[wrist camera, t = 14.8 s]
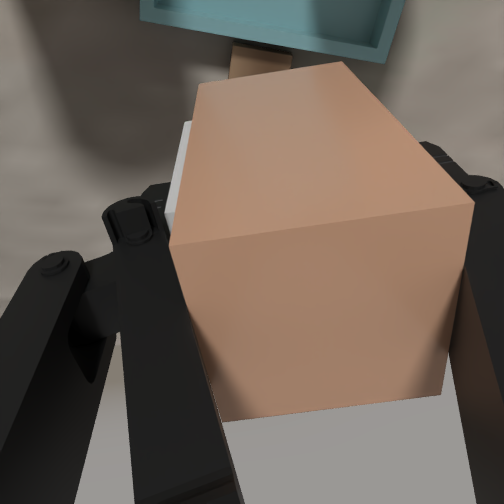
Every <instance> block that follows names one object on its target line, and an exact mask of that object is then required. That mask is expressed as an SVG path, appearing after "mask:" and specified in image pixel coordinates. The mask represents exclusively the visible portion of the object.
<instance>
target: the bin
mask: <svg viewBox="0 0 504 504" xmlns="http://www.w3.org/2000/svg"><path fill="white" fill-rule="evenodd" d="M404 3H405V0H140V21H146V22H151V23H157V24H163V25H168V26H174V27H179V28H185V29H191V30H196V31H202V32H207V33H213V34H219V35H224V36H230V37H235V38H241V39H247V40H252V41H258V42H263V43H269V44H275V45H280V46H286V47H291V48H297V49H303V50H308V51H314V52H319V53H325V54H331V55H336V56H342V57H347V58H353V59H359V60H364V61H370V62H375V63H381V64H385V62H386V59H387V56H388V53H389V49H390V46H391V43H392V40H393V37H394V34H395V31H396V28H397V25H398V22H399V18H400V15H401V12H402V9H403V6H404Z"/></svg>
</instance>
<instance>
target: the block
mask: <svg viewBox="0 0 504 504" xmlns="http://www.w3.org/2000/svg"><path fill="white" fill-rule="evenodd" d="M474 204H475V202H474V201H473V200H472V199H471V198H470V197H469V196H468V195H467V193H466V192H465V191H464V190H463V189H462V188H461V187H460V186H459V185H458V184H457V183H456V182H455V181H454V180H453V179H452V178H451V177H450V175H449V174H448V173H447V172H446V171H445V170H444V169H443V168H442V167H441V166H440V165H439V164H438V163H437V162H436V161H435V160H434V159H433V157H432V156H431V155H430V154H429V153H428V152H427V151H426V150H425V149H424V148H423V147H422V146H421V145H420V144H419V143H418V142H417V140H416V139H415V138H414V137H413V136H412V135H411V134H410V133H409V132H408V131H407V130H406V129H405V128H404V127H403V126H402V125H401V124H400V122H399V121H398V120H397V119H396V118H395V117H394V116H393V115H392V114H391V113H390V112H389V111H388V110H387V109H386V108H385V107H384V105H383V104H382V103H381V102H380V101H379V100H378V99H377V98H376V97H375V96H374V95H373V94H372V93H371V92H370V91H369V90H368V89H367V87H366V86H365V85H364V84H363V83H362V82H361V81H360V80H359V79H358V78H357V77H356V76H355V75H354V74H353V73H352V72H351V71H350V69H349V68H348V67H347V66H346V65H345V64H344V63H343V62H342V61H340V62H334V63H327V64H321V65H315V66H308V67H302V68H296V69H289V70H283V71H277V72H270V73H264V74H258V75H251V76H245V77H239V78H232V79H226V80H220V81H214V82H207V83H201V84H199V86H198V91H197V97H196V102H195V107H194V113H193V118H192V123H191V129H190V134H189V140H188V145H187V150H186V156H185V161H184V166H183V172H182V177H181V183H180V188H179V193H178V199H177V204H176V209H175V215H174V220H173V226H172V231H171V236H170V242H169V249H170V252H171V256H172V259H173V262H174V265H175V269H176V272H177V275H178V279H179V282H180V285H181V288H182V292H183V295H184V298H185V302H186V305H187V308H188V311H189V315H190V318H191V321H192V325H193V328H194V331H195V334H196V338H197V341H198V344H199V348H200V351H201V354H202V357H203V361H204V364H205V367H206V371H207V374H208V377H209V381H210V384H211V387H212V390H213V394H214V397H215V400H216V404H217V407H218V410H219V413H220V417H221V420H222V422H230V421H238V420H245V419H254V418H260V417H269V416H277V415H285V414H293V413H301V412H309V411H317V410H325V409H333V408H341V407H349V406H357V405H365V404H373V403H381V402H388V401H396V400H404V399H412V398H420V397H427V396H436V395H441V391H442V385H443V380H444V374H445V368H446V363H447V357H448V352H449V346H450V340H451V335H452V329H453V323H454V318H455V312H456V306H457V301H458V295H459V289H460V284H461V278H462V272H463V267H464V261H465V255H466V250H467V244H468V238H469V233H470V227H471V221H472V216H473V210H474Z"/></svg>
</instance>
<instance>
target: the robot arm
mask: <svg viewBox="0 0 504 504" xmlns="http://www.w3.org/2000/svg"><path fill="white" fill-rule="evenodd" d="M191 123H192V121H186V122H185V123H184V127H183V132H182V136H181V141H180V145H179V150H178V154H177V159H176V163H175V168H174V172H173V177H172V181H171V182H168V183H161V184H155V185H150V186H149V187H148V188H147V189H146V190H145V191H144V192H143V193H142V195H141V196H136V197H130V198H126V199H123V200H120V201H117V202H116V203H114V204H112V205H110V206H109V207H108V208H107V209H106V210H105V211H104V212H103V214H102V220H103V222H104V225H105V227H106V230H107V232H108V235H109V237H110V240H111V242H112V245H113V252H111V253H109V254H107V255H104V256H102V257H99V258H96V259H93V260H90V261H87V262H85V263H84V261H83V258H82V256H81V255H80V254H79V253H78V252H75V251H60V252H56V253H51V254H49V255H48V256H47V255H46V256H44V257H43V258H41V259H40V260H39V261H37V262H36V263H35V264H33V265H32V267H31V268H30V269H29V270H28V271H27V273H26V275H25V277H24V278H23V280H22V282H21V284H20V285H19V287H18V289H17V291H16V292H15V294H14V296H13V298H12V299H11V301H10V303H9V304H8V306H7V308H6V310H5V311H4V313H3V315H2V317H1V318H0V504H74V502H75V497H76V494H77V490H78V486H79V482H80V478H81V474H82V470H83V466H84V463H85V459H86V454H87V451H88V447H89V443H90V439H91V435H92V431H93V427H94V424H95V419H96V416H97V412H98V408H99V404H100V400H101V396H102V392H103V389H104V385H105V380H106V377H107V373H108V369H109V365H110V361H111V357H112V353H113V349H114V346H115V342H116V333H118V332H120V336H121V348H122V360H123V371H124V383H125V395H126V407H127V419H128V431H129V442H130V454H131V466H132V477H133V489H134V501H135V504H245V503H244V499H243V495H242V492H241V489H240V485H239V482H238V479H237V475H236V471H235V468H234V464H233V461H232V457H231V454H230V451H229V447H228V444H227V440H226V437H225V433H224V430H223V426H222V423H221V419H220V416H219V412H218V409H217V405H216V402H215V398H214V395H213V391H212V388H211V385H210V381H209V378H208V374H207V371H206V367H205V364H204V361H203V357H202V354H201V351H200V348H199V344H198V341H197V338H196V334H195V331H194V328H193V325H192V321H191V318H190V315H189V311H188V308H187V305H186V302H185V298H184V295H183V292H182V288H181V285H180V282H179V279H178V275H177V272H176V269H175V265H174V262H173V259H172V256H171V252H170V249H169V242H170V236H171V231H172V226H173V220H174V215H175V209H176V204H177V199H178V193H179V188H180V183H181V177H182V172H183V166H184V161H185V156H186V150H187V145H188V140H189V134H190V129H191ZM418 143H419V144H420V145H421V146H422V147H423V148H424V149H425V150H426V151H427V152H428V153H429V154H430V155H431V156H432V157H433V159H434V160H435V161H436V162H437V163H438V164H439V165H440V166H441V167H442V168H443V169H444V170H445V171H446V172H447V173H448V174H449V175H450V177H451V178H452V179H453V180H454V181H455V182H456V183H457V184H458V185H459V186H460V187H461V188H462V189H463V190H464V191H465V192H466V193H467V195H468V196H469V197H470V198H471V199H472V200H473V201H474V202H475V204H474V210H473V216H472V221H471V227H470V233H469V238H468V244H467V250H466V255H465V261H464V267H463V272H462V278H461V284H460V289H459V295H458V301H457V306H456V312H455V318H454V323H453V329H452V335H451V340H450V346H449V358H450V363H451V369H452V374H453V379H454V385H455V390H456V395H457V401H458V406H459V412H460V417H461V422H462V427H463V433H464V438H465V444H466V449H467V455H468V460H469V465H470V470H471V476H472V481H473V487H474V492H475V498H476V503H477V504H504V188H503V187H502V186H501V184H500V183H499V182H497V181H495V180H493V179H491V178H488V177H483V176H477V175H468V174H467V173H466V172H465V171H464V170H463V169H462V168H461V167H460V166H459V165H458V164H457V163H456V162H453V160H452V159H451V158H450V157H449V156H447V154H446V153H445V152H444V151H443V150H442V149H441V148H440V147H439V146H436V145H434V144H431V143H429V142H427V141H425V142H418Z"/></svg>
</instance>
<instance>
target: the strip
mask: <svg viewBox="0 0 504 504" xmlns="http://www.w3.org/2000/svg"><path fill="white" fill-rule="evenodd" d="M292 58H293V55H292V53H291V52H287V51H281V50H276V49H270V48H264V47H259V46H253V45H248V44H242V43H236V42H233V46H232V53H231V60H230V68H229V75H228V79H232V78H239V77H245V76H251V75H258V74H264V73H270V72H277V71H283V70H289V69H290V68H291V63H292Z"/></svg>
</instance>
